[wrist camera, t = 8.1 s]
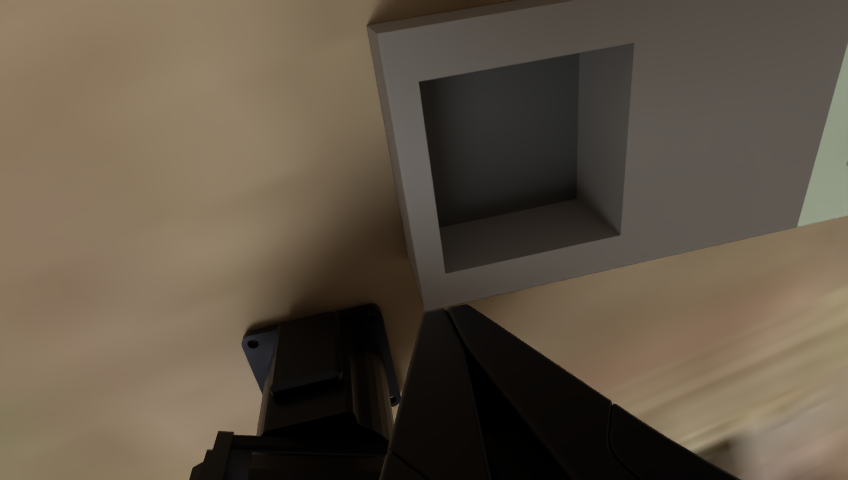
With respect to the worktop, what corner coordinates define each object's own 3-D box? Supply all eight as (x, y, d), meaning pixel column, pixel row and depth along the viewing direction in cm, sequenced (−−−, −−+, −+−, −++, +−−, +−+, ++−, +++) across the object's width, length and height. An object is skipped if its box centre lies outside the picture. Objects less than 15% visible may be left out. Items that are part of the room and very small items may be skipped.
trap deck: (1038, 124, 25) (1154, 145, 21) (409, 260, 22) (425, 311, 18) (1153, -107, 20) (1326, -127, 17) (366, 25, 17) (377, 33, 13)
